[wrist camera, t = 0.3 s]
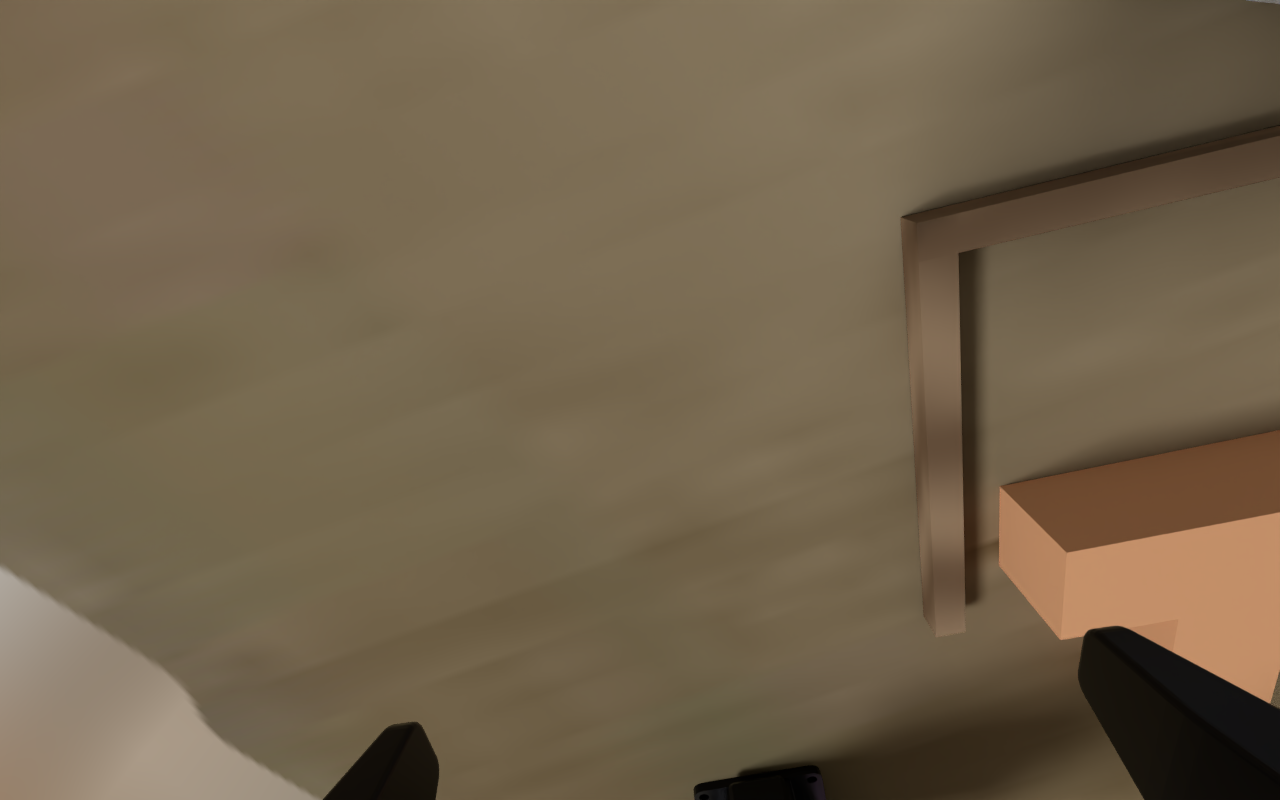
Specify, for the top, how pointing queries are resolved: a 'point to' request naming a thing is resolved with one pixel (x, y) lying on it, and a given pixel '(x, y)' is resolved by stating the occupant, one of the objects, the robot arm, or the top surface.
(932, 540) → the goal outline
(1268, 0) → the plastic bottle
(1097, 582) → the t puck
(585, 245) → the top surface
